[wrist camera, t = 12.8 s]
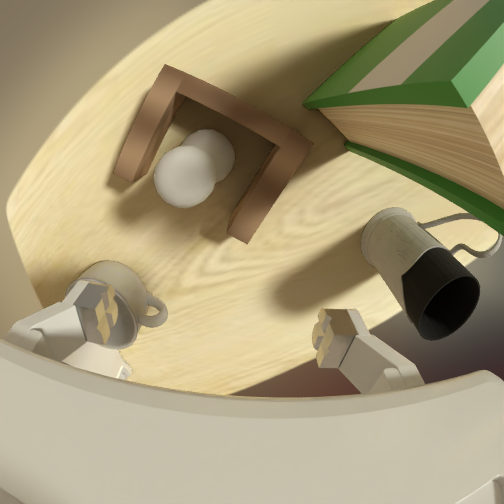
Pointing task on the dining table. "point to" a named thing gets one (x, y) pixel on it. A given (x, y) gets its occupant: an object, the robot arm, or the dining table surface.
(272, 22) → the dining table surface
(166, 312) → the teacup
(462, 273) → the tall mug
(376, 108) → the hardback book
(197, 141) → the salt shaker
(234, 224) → the walnut holder
